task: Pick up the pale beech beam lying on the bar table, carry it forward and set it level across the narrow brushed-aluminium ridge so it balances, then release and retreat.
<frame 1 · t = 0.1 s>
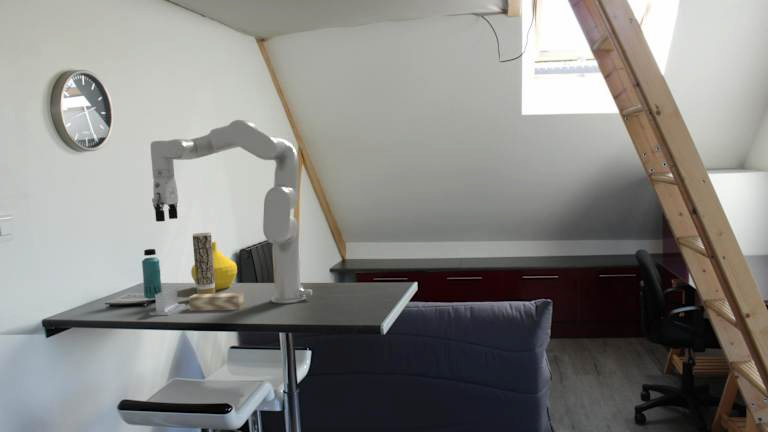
hand: (167, 219, 219), 31 cm above the table, fingers open, 9 cm apart
paper tube: (206, 298, 226), on the table
beam: (217, 309, 209), on the table
beverage bottle: (153, 301, 225), on the table
fulcrum: (167, 310, 208), on the table
vase: (215, 288, 244), on the table
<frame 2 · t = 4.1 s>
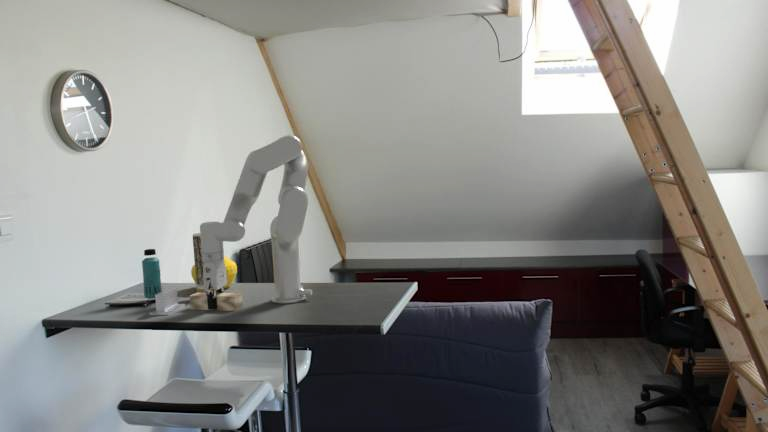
hand: (216, 306, 209), 1 cm above the table, fingers closed on beam, 5 cm apart
beam: (216, 308, 209), on the table, touching gripper
everything else where it was.
when the fingers open (9 cm above the table, at t = 9.1 s): beam drops 1 cm, resting on fulcrum.
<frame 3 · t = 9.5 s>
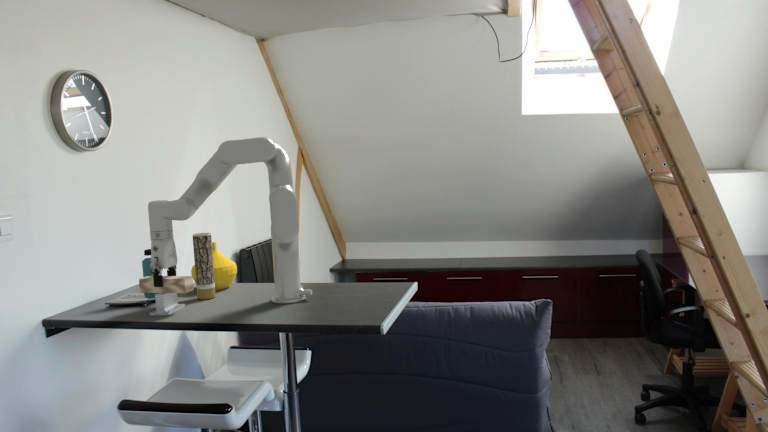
hand: (165, 283, 207), 10 cm above the table, fingers open, 9 cm apart
beam: (166, 291, 207), point 7 cm above the table, touching fulcrum
everything else where it was.
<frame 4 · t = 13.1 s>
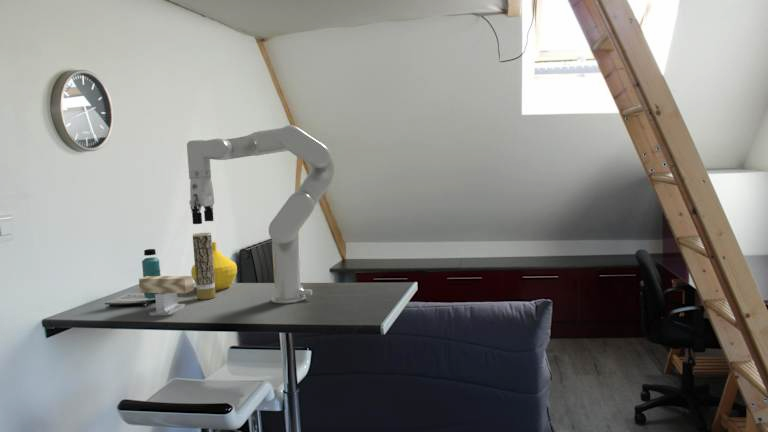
hand: (203, 222, 211), 30 cm above the table, fingers open, 9 cm apart
nothing on the table moved.
at the end: beam 0.2 cm off-centre on the fulcrum, point 7.0 cm above the fulcrum's base; beam tilted 0°; beam touching fulcrum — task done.
